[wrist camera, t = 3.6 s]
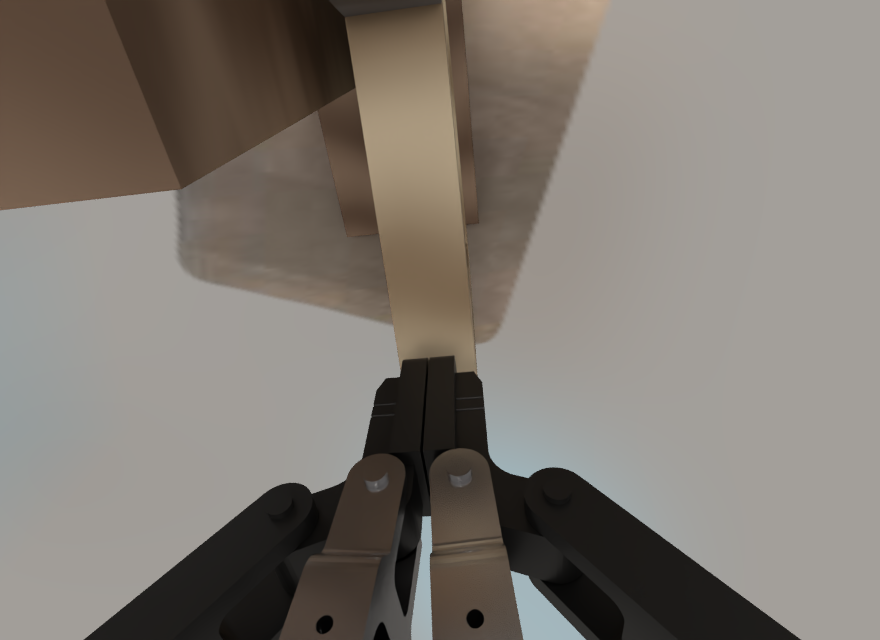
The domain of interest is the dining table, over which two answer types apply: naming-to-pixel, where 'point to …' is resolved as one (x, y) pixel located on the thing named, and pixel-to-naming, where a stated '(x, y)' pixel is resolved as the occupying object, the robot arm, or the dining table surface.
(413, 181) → the frame
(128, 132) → the stand
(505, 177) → the dining table surface
